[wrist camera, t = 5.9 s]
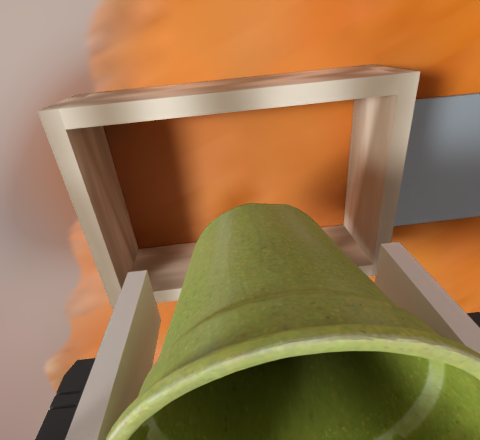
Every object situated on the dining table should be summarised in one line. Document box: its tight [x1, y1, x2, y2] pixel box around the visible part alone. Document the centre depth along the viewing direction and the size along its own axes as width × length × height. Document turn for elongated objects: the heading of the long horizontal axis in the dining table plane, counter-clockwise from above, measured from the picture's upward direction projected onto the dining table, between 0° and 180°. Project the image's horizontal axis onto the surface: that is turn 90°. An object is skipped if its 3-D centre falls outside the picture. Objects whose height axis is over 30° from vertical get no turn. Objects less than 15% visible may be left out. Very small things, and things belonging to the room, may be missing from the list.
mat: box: [394, 93, 480, 226], centre depth 25 cm, size 10×10×1 cm
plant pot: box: [105, 203, 480, 440], centre depth 11 cm, size 9×9×9 cm
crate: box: [38, 65, 420, 308], centre depth 22 cm, size 19×13×6 cm
